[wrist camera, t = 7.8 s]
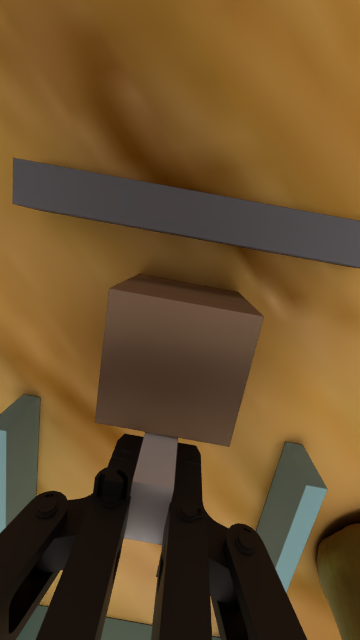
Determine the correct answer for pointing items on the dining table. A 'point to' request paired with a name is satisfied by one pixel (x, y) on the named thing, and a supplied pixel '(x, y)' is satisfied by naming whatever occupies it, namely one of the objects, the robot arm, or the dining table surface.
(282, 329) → the dining table surface
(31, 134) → the dining table surface
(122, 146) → the dining table surface
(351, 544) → the mug
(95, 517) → the robot arm
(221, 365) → the walnut block
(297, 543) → the teal u-shaped frame
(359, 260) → the bar
